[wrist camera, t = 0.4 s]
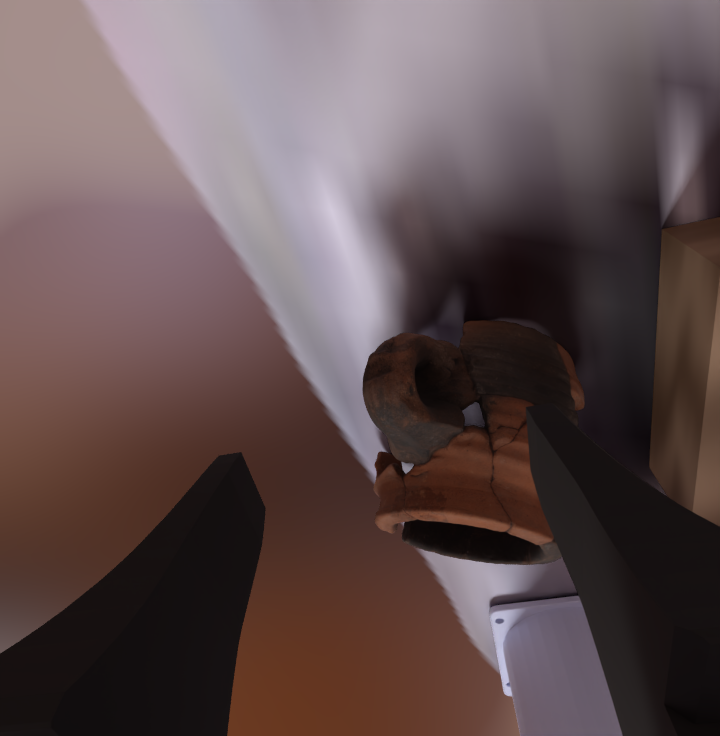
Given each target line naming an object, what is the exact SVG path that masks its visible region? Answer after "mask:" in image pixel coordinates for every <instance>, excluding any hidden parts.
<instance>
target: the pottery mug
mask: <svg viewBox="0 0 720 736" xmlns="http://www.w3.org/2000/svg"><path fill="white" fill-rule="evenodd" d="M363 397H364V402H365V405H366V408H367V411H368V413H369V415H370V417H371V419H372V421H373V422H374V423H375V425H376V426H377V427H378V428H379V429H380V430H381V431H382V432H383V433H384V434H385V435H386V436H387V439H388V443H389V446H390V450H391V452H392V454H393V455H392V454H390V453H387V452H379V453H378V456H377V460H376V462H375V468H376V471H377V476H376V482H375V485H374V492H375V493H376V494H377V495H378V496H379V497H380V500H381V501H380V506H379V510H378V511H377V512H376V515H375V523H376V524H377V526H378V527H379V528H380V529H381V530H384V531H387V532H389V533H394V532H396V530H397V526H398V523H400V522H405V523H404V529H403V532H402V540H403V542H405V543H407V544H409V545H411V546H414V547H416V548H419V549H423V550H425V551H430V552H435V553H438V554H441V555H444V556H449V557H454V558H459V559H466V560H472V561H479V562H485V563H494V564H518V565H533V564H544V563H549V562H554V561H556V560H557V559H559V558H561V557H562V555H561V553H560V550H559V548H558V546H557V543H556V541H555V539H554V536H553V534H552V532H551V529H550V527H549V525H548V522H547V520H546V518H545V515H544V513H543V510H542V508H541V505H540V501H539V498H538V495H537V491H536V488H535V484H534V481H533V477H532V474H531V470H530V457H529V445H528V432H527V419H526V407H528V406H535V405H541V404H547V403H553V404H554V405H556V406H557V407H558V408H559V409H560V410H561V411H562V412H563V413H564V414H565V415H566V416H567V417H568V418H569V419H570V420H571V421H572V422H573V423H574V424H575V425H576V426H577V427H578V415H577V413H576V411H578V410H581V409H583V408H584V404H585V402H584V393H583V389H582V386H581V384H580V382H579V380H578V377H577V375H576V373H575V366H574V363H573V360H572V358H571V356H570V355H569V354H568V352H567V351H566V350H565V349H564V348H563V347H562V346H561V345H559V344H558V343H556V342H555V341H554V340H553V339H552V338H550V337H548V336H546V335H544V334H542V333H540V332H538V331H537V330H535V329H533V328H528V327H524V326H521V325H518V324H516V323H510V322H506V321H488V320H480V321H467V322H465V323H464V325H463V337H462V338H461V341H460V346H459V348H457V347H456V346H454V345H453V344H451V343H449V342H446V341H442V340H435V339H433V338H431V337H428V336H425V335H420V334H413V333H402V334H399V335H397V336H395V337H392V338H391V339H389V340H386V341H384V342H383V343H382V344H381V345H380V346H379V347H378V348H377V349H376V351H375V352H374V353H372V354H371V355H370V356H369V358H368V362H367V365H366V368H365V372H364V377H363ZM474 402H477V403H479V405H480V408H481V411H482V415H483V419H484V421H485V427H478V426H474V425H470V426H464V422H465V418H464V414H463V413H462V410H464V409H465V408H467V407H468V406H469V405H471V404H473V403H474ZM401 462H405V463H413V464H414V466H413V468H412V469H411V470H410V471H409V472H408V473H407V474H405V473H404V471H403V469H402V463H401Z"/></svg>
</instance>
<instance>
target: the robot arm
mask: <svg viewBox="0 0 720 736" xmlns="http://www.w3.org/2000/svg"><path fill="white" fill-rule="evenodd" d="M526 419H527V432H528V445H529V457H530V470H531V474H532V477H533V481H534V484H535V488H536V491H537V495H538V498H539V501H540V505H541V508H542V510H543V513H544V515H545V518H546V520H547V522H548V525H549V527H550V529H551V532H552V534H553V536H554V539H555V541H556V543H557V546H558V548H559V550H560V553H561V555H562V557H563V560H564V562H565V564H566V567H567V569H568V571H569V574H570V576H571V578H572V581H573V583H574V585H575V588H576V590H577V593H578V595H579V596H571V597H562V598H554V599H545V600H537V601H528V602H520V603H512V604H503V605H496V606H493V607H491V608H490V609H489V614H490V620H491V625H492V630H493V636H494V641H495V647H496V652H497V658H498V663H499V669H500V674H501V680H502V685H503V690H504V693H505V694H506V695H507V696H512V697H513V702H514V707H515V711H516V717H517V721H518V726H519V731H520V736H720V526H718V525H716V524H714V523H712V522H710V521H708V520H707V519H705V518H703V517H701V516H699V515H697V514H695V513H694V512H692V511H690V510H688V509H687V508H685V507H683V506H681V505H680V504H678V503H677V502H675V501H673V500H672V499H670V498H669V497H667V496H666V495H664V494H662V493H661V492H659V491H658V490H656V489H655V488H653V487H652V486H651V485H649V484H648V483H646V482H645V481H643V480H642V479H641V478H639V477H638V476H637V475H635V474H634V473H633V472H631V471H630V470H628V469H627V468H626V467H625V466H623V465H622V464H621V463H619V462H618V461H617V460H616V459H614V458H613V457H612V456H611V455H610V454H608V453H607V452H606V451H605V450H604V449H602V448H601V447H600V446H599V445H598V444H596V443H595V442H594V441H593V440H592V439H591V438H589V437H588V436H587V435H586V434H585V433H584V432H583V431H582V430H581V429H580V428H578V427H577V426H576V425H575V424H574V423H573V422H572V421H571V420H570V419H569V418H568V417H567V416H566V415H565V414H564V413H563V412H562V411H561V410H560V409H559V408H558V407H557V406H556V405H554V404H553V403H547V404H541V405H535V406H528V407H526ZM264 520H265V506H264V504H263V501H262V499H261V497H260V494H259V492H258V490H257V488H256V485H255V483H254V481H253V479H252V476H251V474H250V471H249V469H248V467H247V465H246V462H245V460H244V458H243V456H242V453H241V452H239V453H233V454H227V455H220V456H218V457H217V458H216V459H215V461H214V462H213V463H212V464H211V465H210V466H209V467H208V469H206V471H205V472H204V473H203V474H202V475H201V476H200V478H199V479H198V480H197V481H196V482H195V484H194V485H193V486H192V487H191V488H190V489H189V490H188V492H187V493H186V494H185V495H184V496H183V497H182V499H181V500H180V501H179V502H178V503H177V504H176V505H175V507H174V508H173V509H172V510H171V511H170V512H169V513H168V515H167V516H166V517H165V518H164V519H163V520H162V521H161V522H160V523H159V524H158V525H157V526H156V527H155V528H154V529H153V531H152V532H151V533H150V534H149V535H148V536H147V537H146V538H145V539H144V540H143V541H142V542H141V543H140V544H139V545H138V546H137V547H136V548H135V549H134V550H133V551H132V552H131V553H130V554H129V555H128V556H127V557H126V558H125V559H124V560H123V561H122V562H120V563H119V564H118V565H117V566H116V567H115V568H114V569H113V570H112V571H110V572H109V573H108V574H107V575H106V576H105V577H104V578H103V579H101V580H100V581H99V582H98V583H97V584H96V585H94V586H93V587H92V588H90V589H89V590H88V591H87V592H85V593H84V594H83V595H82V596H81V597H79V598H78V599H77V600H75V601H74V602H73V603H72V604H70V605H69V606H68V607H67V608H65V609H64V610H63V611H62V612H60V613H59V614H58V615H56V616H55V617H53V618H52V619H51V620H49V621H48V622H47V623H45V624H44V625H42V626H41V627H40V628H38V629H37V630H35V631H34V632H32V633H31V634H29V635H28V636H26V637H25V638H23V639H22V640H21V641H19V642H18V643H16V644H14V645H13V646H11V647H10V648H8V649H7V650H5V651H4V652H2V653H0V736H227V731H228V722H229V712H230V704H231V696H232V687H233V680H234V672H235V665H236V658H237V651H238V644H239V639H240V634H241V629H242V625H243V621H244V617H245V613H246V609H247V605H248V601H249V597H250V593H251V588H252V584H253V580H254V576H255V572H256V568H257V564H258V560H259V555H260V550H261V547H262V539H263V531H264Z"/></svg>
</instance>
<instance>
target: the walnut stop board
mask: <svg viewBox="0 0 720 736" xmlns="http://www.w3.org/2000/svg"><path fill="white" fill-rule="evenodd" d="M649 468H650V469H651V471H652V472H653V474H654V476H655V477H656V479H657V480H658V482H659V483H660V485H661V487H662V488H663V490H664V491H665V493H666V495H667V496H668V497H669V498H670V499H672V500H673V501H675V502H677V503H678V504H680V505H681V506H683V507H685V508H687V509H688V510H690V511H692V512H694V513H695V514H697V515H699V516H701V517H703V518H705V519H707V520H708V521H710V522H712V523H714V524H716V525H718V526H720V217H717V218H713V219H708V220H703V221H698V222H693V223H689V224H684V225H679V226H674V227H670V228H665V229H662V239H661V258H660V276H659V295H658V313H657V332H656V350H655V369H654V388H653V406H652V425H651V443H650V462H649Z"/></svg>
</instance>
